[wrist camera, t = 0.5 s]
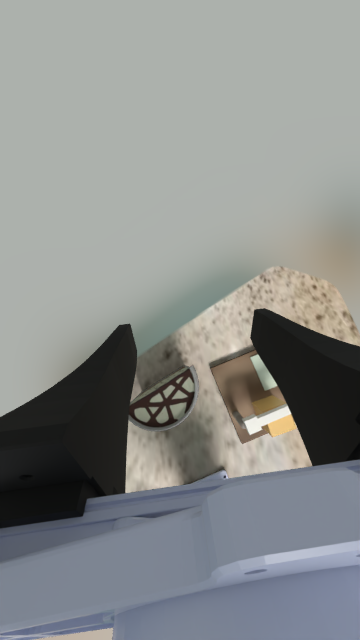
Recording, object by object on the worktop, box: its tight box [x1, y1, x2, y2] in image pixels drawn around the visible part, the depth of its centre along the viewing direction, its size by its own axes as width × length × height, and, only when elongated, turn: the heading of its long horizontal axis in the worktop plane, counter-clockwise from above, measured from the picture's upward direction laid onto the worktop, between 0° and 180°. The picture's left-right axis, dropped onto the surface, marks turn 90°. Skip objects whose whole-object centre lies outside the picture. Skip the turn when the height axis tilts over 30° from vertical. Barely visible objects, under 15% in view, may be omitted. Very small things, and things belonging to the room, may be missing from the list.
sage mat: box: [250, 354, 277, 391], centre depth 37 cm, size 6×6×1 cm
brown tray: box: [211, 350, 295, 444], centre depth 35 cm, size 14×14×6 cm
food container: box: [128, 365, 199, 431], centre depth 33 cm, size 12×6×10 cm, turn 122°
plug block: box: [252, 395, 296, 437], centre depth 34 cm, size 4×4×5 cm
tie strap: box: [242, 403, 291, 435], centre depth 31 cm, size 2×13×1 cm, turn 112°
